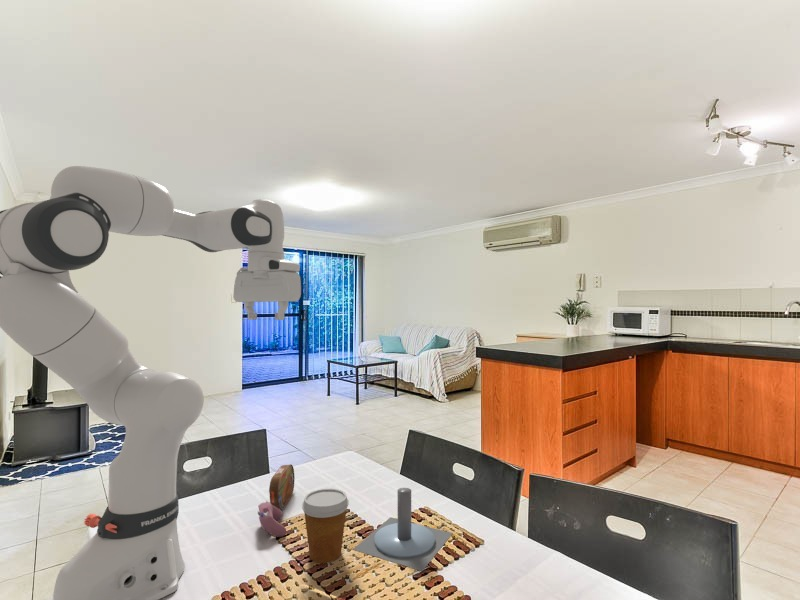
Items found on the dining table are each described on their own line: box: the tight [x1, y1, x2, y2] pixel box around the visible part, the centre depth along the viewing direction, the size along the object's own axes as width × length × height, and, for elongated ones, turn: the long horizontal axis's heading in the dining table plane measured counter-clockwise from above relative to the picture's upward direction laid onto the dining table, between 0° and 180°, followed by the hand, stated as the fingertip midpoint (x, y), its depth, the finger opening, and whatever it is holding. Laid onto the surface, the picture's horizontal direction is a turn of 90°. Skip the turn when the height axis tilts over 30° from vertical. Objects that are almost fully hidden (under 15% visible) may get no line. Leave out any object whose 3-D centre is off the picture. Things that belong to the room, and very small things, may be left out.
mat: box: [352, 517, 454, 572], centre depth 93 cm, size 16×16×1 cm
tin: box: [268, 464, 295, 510], centre depth 114 cm, size 15×3×8 cm, turn 179°
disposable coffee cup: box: [301, 488, 350, 564], centre depth 89 cm, size 10×10×12 cm
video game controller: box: [257, 500, 287, 538], centre depth 100 cm, size 10×5×7 cm, turn 20°
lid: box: [374, 487, 435, 558], centre depth 94 cm, size 13×13×11 cm
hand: (265, 319), depth 110 cm, fingers open, 8 cm apart
